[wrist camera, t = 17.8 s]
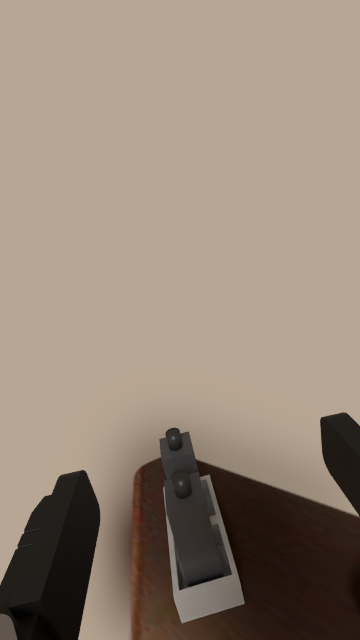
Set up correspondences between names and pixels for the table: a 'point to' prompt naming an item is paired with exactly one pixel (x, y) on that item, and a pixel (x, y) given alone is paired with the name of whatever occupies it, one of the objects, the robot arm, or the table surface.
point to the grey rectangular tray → (214, 592)
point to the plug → (192, 528)
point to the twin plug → (177, 453)
